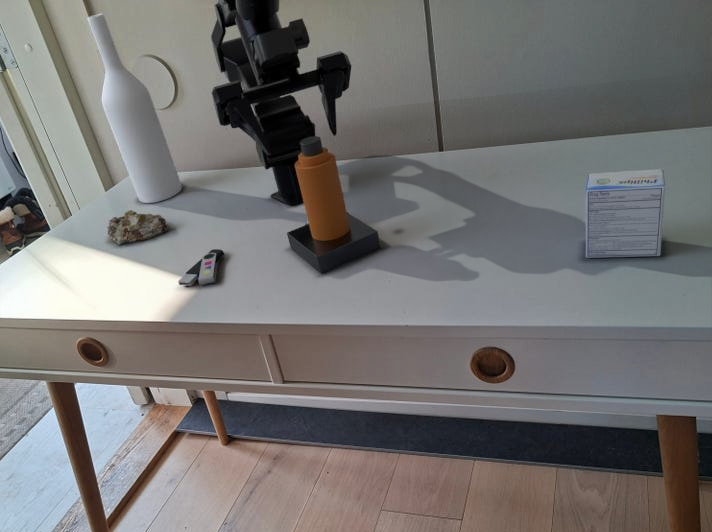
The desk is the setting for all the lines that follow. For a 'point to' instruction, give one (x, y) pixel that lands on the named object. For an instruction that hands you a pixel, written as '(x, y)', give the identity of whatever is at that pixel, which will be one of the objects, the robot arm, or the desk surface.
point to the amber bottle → (321, 191)
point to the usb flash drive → (203, 269)
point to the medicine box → (624, 213)
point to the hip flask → (334, 245)
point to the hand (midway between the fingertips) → (302, 143)
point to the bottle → (134, 123)
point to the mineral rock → (135, 227)
